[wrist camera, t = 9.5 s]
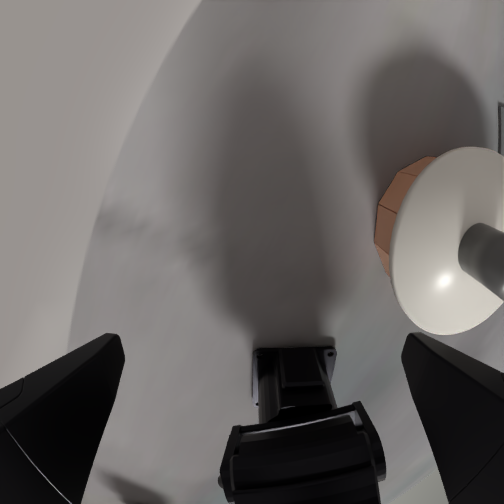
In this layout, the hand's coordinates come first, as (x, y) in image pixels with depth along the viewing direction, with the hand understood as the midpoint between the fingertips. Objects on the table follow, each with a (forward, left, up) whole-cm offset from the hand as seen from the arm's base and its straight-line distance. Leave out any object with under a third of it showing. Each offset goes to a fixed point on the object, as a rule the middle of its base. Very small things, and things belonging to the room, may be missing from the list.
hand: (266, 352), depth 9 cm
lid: (+1, -13, -8) cm, 15 cm away
